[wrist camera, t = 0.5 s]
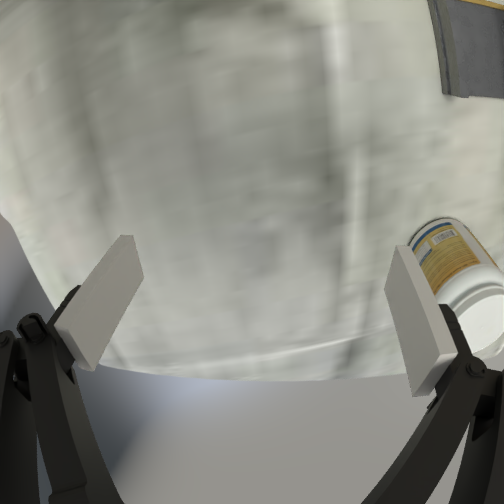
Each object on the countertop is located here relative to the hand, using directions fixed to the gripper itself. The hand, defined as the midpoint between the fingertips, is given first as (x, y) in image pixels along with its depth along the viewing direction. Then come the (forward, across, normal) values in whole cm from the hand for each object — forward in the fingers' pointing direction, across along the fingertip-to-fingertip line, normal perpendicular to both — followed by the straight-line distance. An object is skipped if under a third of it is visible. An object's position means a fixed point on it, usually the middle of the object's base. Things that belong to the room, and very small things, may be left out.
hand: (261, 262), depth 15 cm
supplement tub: (+26, +26, -15) cm, 40 cm away
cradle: (+26, +27, +16) cm, 41 cm away
